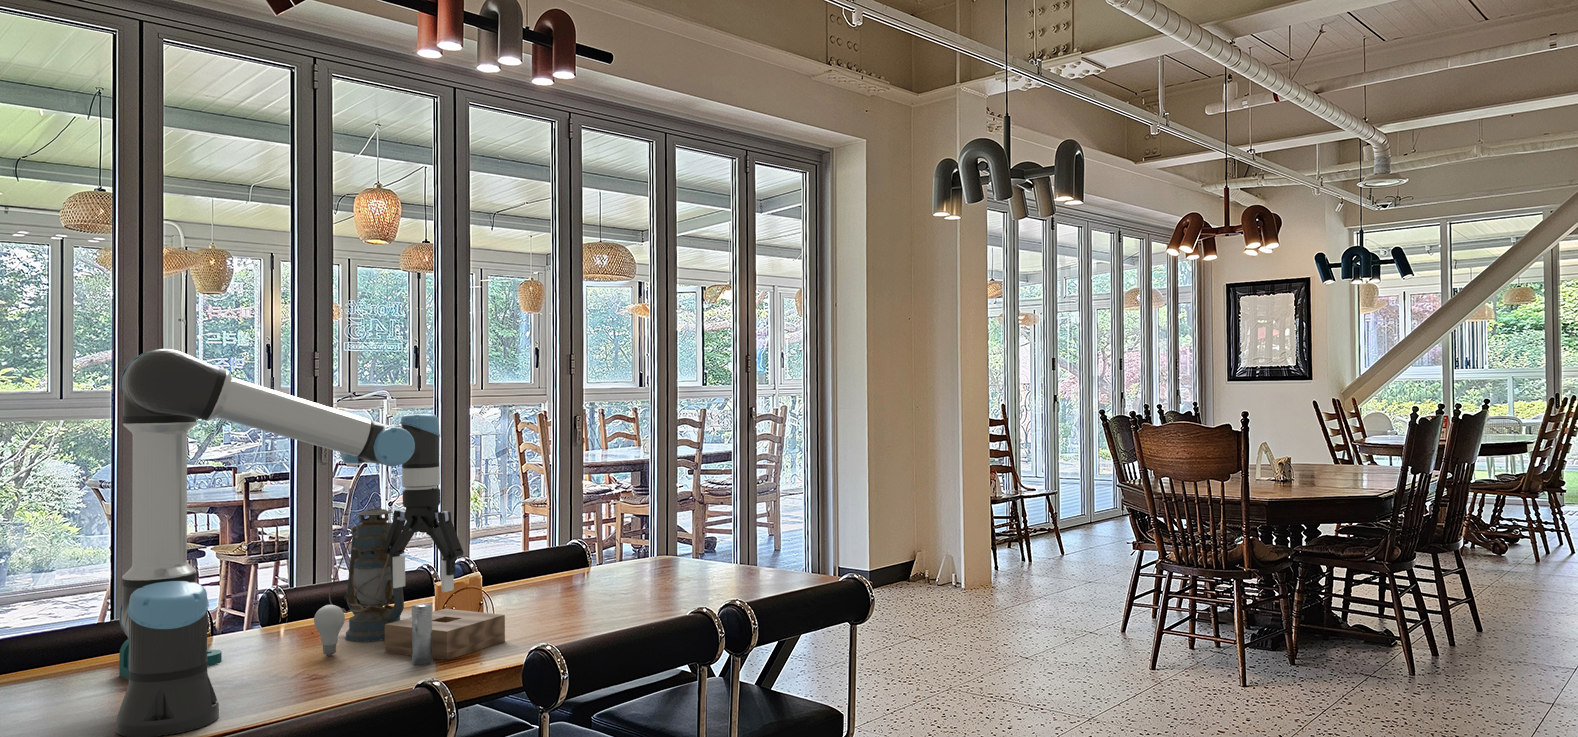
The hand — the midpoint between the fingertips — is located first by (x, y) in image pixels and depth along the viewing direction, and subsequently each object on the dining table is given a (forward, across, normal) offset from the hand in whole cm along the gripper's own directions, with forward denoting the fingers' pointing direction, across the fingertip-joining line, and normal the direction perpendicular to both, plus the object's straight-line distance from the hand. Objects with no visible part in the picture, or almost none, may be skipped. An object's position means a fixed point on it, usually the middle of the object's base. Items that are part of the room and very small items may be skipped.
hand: (423, 589), depth 218 cm
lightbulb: (+15, +24, +4) cm, 28 cm away
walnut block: (+16, +6, -13) cm, 21 cm away
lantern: (+16, +30, -14) cm, 37 cm away
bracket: (+15, +45, +24) cm, 54 cm away
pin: (+15, 0, 0) cm, 15 cm away
